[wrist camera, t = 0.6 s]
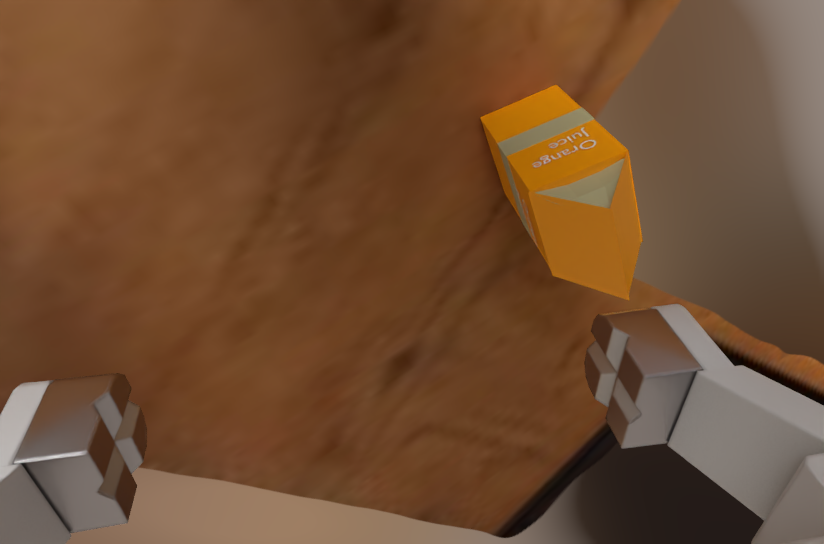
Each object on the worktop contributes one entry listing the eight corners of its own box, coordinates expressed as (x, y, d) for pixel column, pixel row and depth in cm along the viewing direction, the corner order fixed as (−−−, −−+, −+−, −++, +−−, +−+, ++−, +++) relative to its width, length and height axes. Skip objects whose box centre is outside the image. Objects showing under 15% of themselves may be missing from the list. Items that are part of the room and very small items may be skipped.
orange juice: (557, 83, 53) (669, 184, 37) (575, 163, 58) (680, 282, 42) (477, 117, 53) (553, 231, 38) (502, 193, 59) (578, 322, 43)
